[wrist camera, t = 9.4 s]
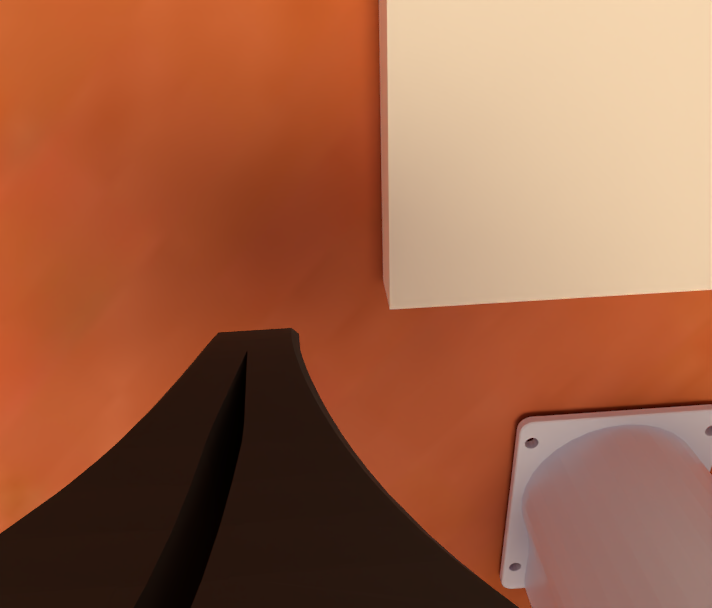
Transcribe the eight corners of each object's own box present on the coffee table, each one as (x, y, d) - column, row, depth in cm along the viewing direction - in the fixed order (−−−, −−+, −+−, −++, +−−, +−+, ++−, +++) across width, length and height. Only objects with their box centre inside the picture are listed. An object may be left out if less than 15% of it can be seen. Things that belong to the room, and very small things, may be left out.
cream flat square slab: (795, 255, 21) (839, 282, 19) (383, 279, 20) (389, 309, 19) (985, -305, 14) (1081, -344, 12) (374, -291, 14) (383, -328, 12)
